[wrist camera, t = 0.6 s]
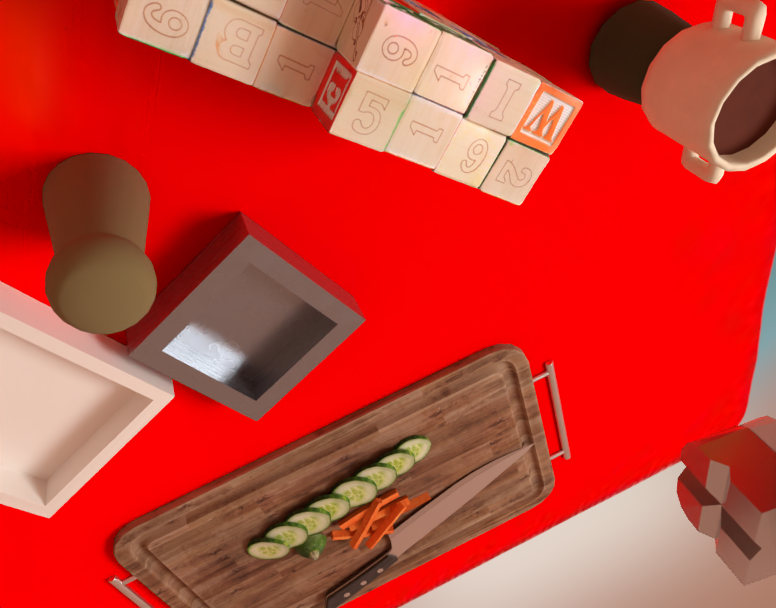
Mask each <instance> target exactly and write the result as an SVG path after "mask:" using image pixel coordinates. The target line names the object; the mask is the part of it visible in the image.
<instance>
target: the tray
mask: <svg viewBox="0 0 776 608" xmlns="http://www.w3.org/2000/svg"><path fill="white" fill-rule="evenodd" d="M174 397H175V395H174V388H173V382H172V378H170V377H168V376H166V375H164V374H162V373H161V372H159V371H157V370H155V369H153V368H151V367H149V366H147V365H145V364H143V363H141V362H139V361H137V360H135V359H133V358H131V357H129V356H128V349H127V346H125V345H123V344H121V343H119V342H117V341H115V340H113V339H111V338H109V337H107V336H105V335H103V334H92V333H87V332H83V331H80V330H78V329H76V328H74V327H72V326H70V325H69V324H67V323H65V322H63V321H62V320H61V319H60V318H59V317H58V316H57V315H56V313H55V312H54V311H53V309H52V308H51V307H49V306H47V305H45V304H43V303H41V302H39V301H37V300H36V299H34V298H32V297H30V296H28V295H26V294H24V293H22V292H20V291H18V290H16V289H14V288H12V287H10V286H8V285H6V284H5V283H3V282H1V281H0V504H4V505H7V506H10V507H13V508H17V509H20V510H23V511H27V512H30V513H33V514H37V515H40V516H43V517H46V518H50V517H51V516H52V515H53V514H54V513H55V512H56V511H57V510H58V509H59V508H60V507H61V506H62V505H63V504H65V503H66V502H67V501H68V500H69V499H70V498H71V497H72V496H73V495H74V494H75V493H76V492H77V491H78V490H79V489H80V488H81V487H82V486H83V485H84V484H85V483H86V482H87V481H88V480H89V479H90V478H91V477H92V476H93V475H94V474H95V473H96V472H98V471H99V470H100V469H101V468H102V467H103V466H104V465H105V464H106V463H107V462H108V461H109V460H110V459H111V458H112V457H113V456H114V455H115V454H116V453H117V452H118V451H119V450H120V449H121V448H122V447H123V446H124V445H125V444H126V443H127V442H128V441H129V440H131V439H132V438H133V437H134V436H135V435H136V434H137V433H138V432H139V431H140V430H141V429H142V428H143V427H144V426H145V425H146V424H147V423H148V422H149V421H150V420H151V419H152V418H153V417H154V416H155V415H156V414H157V413H158V412H159V411H160V410H161V409H162V408H164V407H165V406H166V405H167V404H168V403H169V402H170V401H171V400H172V399H173V398H174Z"/></svg>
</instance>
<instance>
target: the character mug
mask: <svg viewBox="0 0 776 608" xmlns="http://www.w3.org/2000/svg"><path fill="white" fill-rule="evenodd" d="M766 10H767V6H766V5H765V4H764V3H762V2H761V1H759V0H717V2H716V6H715V10H714V14H713V19H712V22H706V23H701V24H698V25H695V26H692V25H690V24H689V23H687V22H686V21H684V20H683V19H682V18H680V17H679V16H677V15H676V14H675V13H673V12H672V11H670V10H668V9H667V8H665V7H663V6H661V5H660V4H658V3H656V2H654V1H644V0H638V1H636V2H634V3H632V4H629V5H627V6H625V7H623V8H620V9H619V10H618V11H617V12H616V13H615V14H614V15H613V16H612V17H611V18H609V19H608V20H607V21H606V22H605V23H604V24H603V25H602V27H601V29H600V31H599V32H598V34H597V36H596V38H595V40H594V41H593V43H592V45H591V53H590V61H589V67H590V70H591V73H592V75H593V78H594V81H595V83H596V84H598V85H599V86H600V87H601V88H603V89H604V90H605V91H607V92H608V93H610V94H613V95H615V96H617V97H620V98H622V99H625V100H628V101H631V102H634V103H637V104H640V105H642V109H643V111H644V113H645V115H646V117H647V119H648V120H649V122H650V123H651V125H652V126H653V127H654V128H656V129H657V130H659V131H660V132H662V133H664V134H665V135H667V136H669V137H670V138H672V139H673V140H675V141H677V142H678V143H680V144H682V145H683V146H684V148H683V153H682V165H683V166H684V167H685V168H686V169H688V170H689V171H691V172H692V173H694V174H695V175H697V176H698V177H700V178H701V179H703V180H704V181H707V182H710V183H715V184H716V183H717V182H718V181H719V180H720V179H721V178H722V176H723V174H724V170H726V171H745V170H747V169H750V168H752V167H754V166H756V165H758V164H760V163H763V162H765V161H766V160H767V159H769V158H770V157H771V156H772V155H774V154H775V153H776V41H775V40H773V39H771V38H768V37H766V36H763V35H761V33H762V29H763V26H764V22H765V18H766ZM733 12H735V13H738V14H741V15H743V16H744V17H745V21H744V25H743V28H742V27H739V26H736V25H733V24H731V19H732V15H733ZM699 156H701V157H703V158H704V159H706V160H708V161H709V163H707V162H705V161H704V160H702V159H700V158H699Z"/></svg>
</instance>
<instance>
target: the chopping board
mask: <svg viewBox="0 0 776 608" xmlns="http://www.w3.org/2000/svg"><path fill="white" fill-rule="evenodd" d="M545 368H546V371H544V372H542V373H540V374H538V375H536V376H534V377H532V375H531V371H530V366H529V362H528V360H527V358H526V356H525V355H524V353H523V352H522V350H521V349H520V348H518V347H516V346H514V345H512V344H497V345H494V346H491V347H488V348H485V349H483V350H481V351H479V352H477V353H475V354H473V355H471V356H469V357H467V358H465V359H463V360H461V361H459V362H457V363H455V364H452V365H450V366H448V367H446V368H444V369H442V370H440V371H438V372H436V373H434V374H432V375H430V376H428V377H426V378H424V379H422V380H420V381H418V382H416V383H414V384H412V385H409V386H407V387H405V388H403V389H401V390H399V391H397V392H395V393H393V394H391V395H389V396H387V397H385V398H383V399H381V400H379V401H377V402H375V403H373V404H371V405H369V406H366V407H364V408H362V409H360V410H358V411H356V412H354V413H352V414H350V415H348V416H346V417H344V418H342V419H340V420H338V421H336V422H334V423H332V424H330V425H328V426H326V427H323V428H321V429H319V430H317V431H315V432H313V433H311V434H309V435H307V436H305V437H303V438H301V439H299V440H297V441H295V442H293V443H291V444H289V445H287V446H285V447H283V448H280V449H278V450H276V451H274V452H272V453H270V454H268V455H266V456H264V457H262V458H260V459H258V460H256V461H254V462H252V463H250V464H248V465H246V466H244V467H242V468H240V469H237V470H235V471H233V472H231V473H229V474H227V475H225V476H223V477H221V478H219V479H217V480H215V481H213V482H211V483H209V484H207V485H205V486H203V487H201V488H199V489H197V490H194V491H192V492H190V493H188V494H186V495H184V496H182V497H180V498H178V499H176V500H174V501H172V502H170V503H168V504H166V505H164V506H162V507H160V508H158V509H156V510H154V511H151V512H149V513H147V514H145V515H143V516H141V517H139V518H137V519H135V520H133V521H132V522H130V523H129V524H127V525H126V526H124V527H123V528H122V529H121V530H120V531H119V533H118V534H117V535H116V537H115V538H114V548H113V549H114V556H115V558H116V559H117V561H118V562H119V564H121V565H122V566H123V567H124V568H125V569H126V570H128V571H129V572H130V573H131V574H132V575H131V576H129V577H127V578H125V579H123V580H121V579H120V578H119V577H118V576H116V575H114V576H111V577H109V578H108V582H109V583H111V584H112V585H113V586H114V587H115V588H117V589H118V590H119V591H120V592H122V593H123V594H124V595H125V596H127V597H128V598H129V599H130V600H132V601H133V602H134V603H135V604H137V605H138V606H139V607H140V608H155V607H154V606H153V605H152V604H150V603H149V602H148V601H147V600H145V599H144V598H143V597H142V596H141V595H139V594H138V593H137V592H136V591H135V590H133V589H132V588H131V587H130V586H128V585H127V584H128V583H130V582H132V581H134V580H136V579H138V580H139V581H141V582H142V583H143V584H144V585H145V586H146V587H148V588H149V589H150V590H151V591H152V592H153V593H155V594H156V595H157V596H158V597H159V598H161V599H162V600H163V601H164V602H165V603H166V604H168V605H169V606H170V607H171V608H338V607H340V606H342V605H344V604H346V603H348V602H350V601H351V600H353V599H355V598H357V597H359V596H361V595H363V594H365V593H367V592H369V591H371V590H373V589H375V588H377V587H379V586H381V585H383V584H385V583H387V582H389V581H391V580H393V579H395V578H397V577H398V576H400V575H402V574H404V573H406V572H408V571H410V570H412V569H414V568H416V567H418V566H420V565H422V564H424V563H426V562H428V561H430V560H432V559H434V558H436V557H438V556H440V555H442V554H444V553H445V552H447V551H449V550H451V549H453V548H455V547H457V546H459V545H461V544H463V543H465V542H467V541H469V540H471V539H473V538H475V537H477V536H479V535H481V534H483V533H485V532H487V531H489V530H490V529H492V528H494V527H496V526H498V525H500V524H502V523H504V522H506V521H508V520H510V519H512V518H514V517H516V516H518V515H520V514H522V513H524V512H526V511H528V510H530V509H532V508H533V507H535V506H536V505H538V504H539V503H541V502H542V501H543V500H544V499H545V498H546V497H547V496H548V495H549V494H550V492H551V491H552V489H553V487H554V481H555V478H554V474H553V469H552V465H551V460H552V459H554V458H556V457H558V456H560V455H562V454H563V457H564V459H569V458H570V457H571V455H570V450H569V445H568V439H567V434H566V429H565V423H564V418H563V413H562V407H561V402H560V397H559V391H558V386H557V381H556V375H555V370H554V365H553V361H552V360H549V361H547V362H545ZM546 376H547V378H548V383H549V388H550V393H551V398H552V403H553V408H554V413H555V418H556V423H557V428H558V433H559V438H560V443H561V448H562V449H561V450H559V451H557V452H555V453H553V454H551V455H549V451H548V447H547V442H546V438H545V433H544V429H543V424H542V420H541V415H540V411H539V406H538V402H537V397H536V393H535V389H534V384H533V383H534V382H536V381H538V380H540V379H542V378H544V377H546Z"/></svg>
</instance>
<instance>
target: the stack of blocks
mask: <svg viewBox="0 0 776 608" xmlns="http://www.w3.org/2000/svg"><path fill="white" fill-rule="evenodd" d="M114 5H115V8H116V12H115V17H116V23H117V29H118V32H119V33H120V34H122V35H124V36H126V37H128V38H131V39H134V40H137V41H139V42H142V43H144V44H147V45H150V46H152V47H155V48H158V49H160V50H163V51H165V52H168V53H170V54H173V55H176V56H179V57H182V58H187V59H188V60H189V61H190V62H192V63H194V64H196V65H199V66H201V67H204V68H207V69H209V70H212V71H214V72H217V73H220V74H222V75H225V76H227V77H230V78H233V79H235V80H238V81H241V82H243V83H246V84H248V85H252V86H254V87H256V88H258V89H260V90H263V91H265V92H268V93H270V94H273V95H276V96H278V97H281V98H284V99H287V100H290V101H292V102H295V103H298V104H300V105H304V106H311V108H312V111H313V113H314V114H315V115H316V116H317V118H318V119H319V121H320V122H321V123H322V125H323V126H324V127H325V129H326V130H327V131H328V132H329V133H331V134H333V135H336V136H339V137H342V138H345V139H347V140H350V141H353V142H356V143H358V144H361V145H364V146H367V147H369V148H372V149H375V150H377V151H380V152H382V151H385V152H388V153H390V154H393V155H395V156H398V157H400V158H403V159H406V160H409V161H412V162H414V163H417V164H419V165H422V166H425V167H428V168H430V169H431V170H432V171H433V172H435V173H438V174H440V175H443V176H445V177H448V178H451V179H453V180H456V181H459V182H461V183H464V184H466V185H469V186H472V187H475V188H478V189H479V190H481V191H482V192H485V193H488V194H490V195H493V196H495V197H498V198H500V199H503V200H505V201H508V202H510V203H513V204H516V205H520V204H522V202H523V200H524V199H525V197H526V196H527V194H528V192H529V191H530V189H531V188H532V186H533V184H534V183H535V181H536V180H537V178H538V177H539V175H540V173H541V172H542V170H543V169H544V167H545V166H546V164H547V163H548V161H549V157H548V155H551V154H552V153H553V152H554V150H555V149H556V148H557V146H558V145H559V143H560V141H561V140H562V138H563V136H564V135H565V133H566V131H567V130H568V128H569V126H570V125H571V123H572V121H573V120H574V118H575V116H576V115H577V113H578V111H579V110H580V108H581V106H582V104H583V102H582V101H581V100H579V99H578V98H576V97H574V96H573V95H571V94H569V93H568V92H566V91H564V90H562V89H561V88H559V87H557V86H556V85H554V84H552V83H551V82H550V81H548V80H547V79H545V78H544V77H543V76H541V75H539V74H538V73H536V72H535V71H533V70H531V69H530V68H528V67H527V66H525V65H522V64H521V63H519V62H517V61H515V60H513V59H511V58H509V57H508V56H506V55H505V54H503V53H502V52H500V50H499V48H497V47H495V46H493V45H492V44H490V43H488V42H486V41H485V40H483V39H481V38H480V37H478V36H476V35H474V34H472V33H471V32H469V31H467V30H465V29H464V28H462V27H460V26H458V25H456V24H455V23H453V22H452V21H450V20H449V19H447V18H446V17H444V16H443V15H441V14H439V13H437V12H436V11H434V10H432V9H430V8H428V7H426V6H425V5H423V4H421V3H419V2H417V1H415V0H114Z"/></svg>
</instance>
